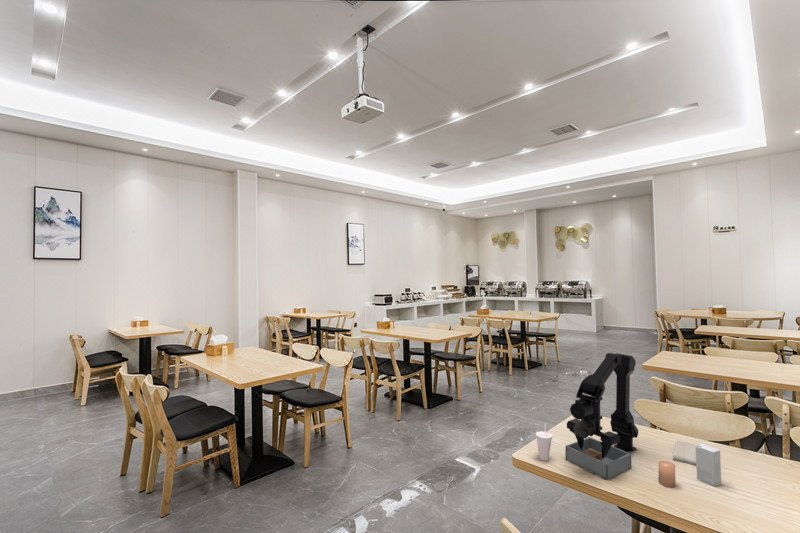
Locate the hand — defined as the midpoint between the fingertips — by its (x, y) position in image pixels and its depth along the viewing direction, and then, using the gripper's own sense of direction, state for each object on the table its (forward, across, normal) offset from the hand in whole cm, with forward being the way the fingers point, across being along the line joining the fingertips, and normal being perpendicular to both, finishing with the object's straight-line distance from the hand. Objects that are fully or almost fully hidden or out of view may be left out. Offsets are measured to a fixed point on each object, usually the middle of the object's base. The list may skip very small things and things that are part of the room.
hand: (592, 453), depth 155 cm
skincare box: (+5, +28, +26) cm, 38 cm away
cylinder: (+5, +21, +12) cm, 25 cm away
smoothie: (+5, -14, -10) cm, 18 cm away
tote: (+5, 0, +4) cm, 6 cm away
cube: (+4, 0, 0) cm, 4 cm away
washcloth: (+6, +16, +42) cm, 45 cm away
